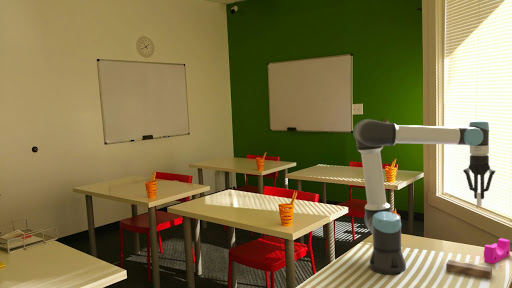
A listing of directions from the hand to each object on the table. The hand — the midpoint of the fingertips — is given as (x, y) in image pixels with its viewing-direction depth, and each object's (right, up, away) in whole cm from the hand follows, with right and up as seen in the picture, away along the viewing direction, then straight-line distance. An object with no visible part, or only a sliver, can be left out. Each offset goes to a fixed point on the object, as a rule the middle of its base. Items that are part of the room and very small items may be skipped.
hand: (479, 205), depth 184 cm
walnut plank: (-14, -25, -18) cm, 34 cm away
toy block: (+4, -23, -4) cm, 24 cm away
